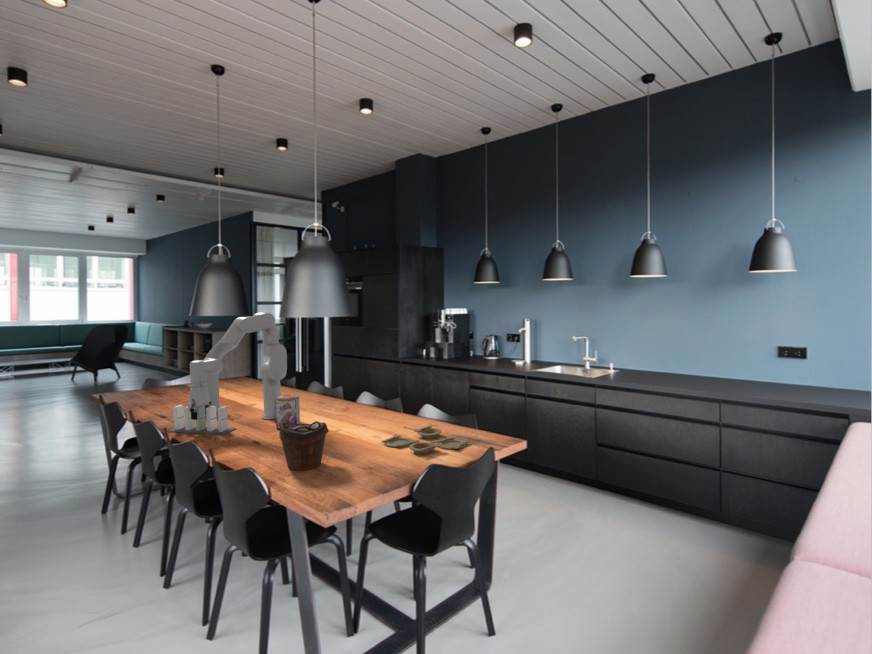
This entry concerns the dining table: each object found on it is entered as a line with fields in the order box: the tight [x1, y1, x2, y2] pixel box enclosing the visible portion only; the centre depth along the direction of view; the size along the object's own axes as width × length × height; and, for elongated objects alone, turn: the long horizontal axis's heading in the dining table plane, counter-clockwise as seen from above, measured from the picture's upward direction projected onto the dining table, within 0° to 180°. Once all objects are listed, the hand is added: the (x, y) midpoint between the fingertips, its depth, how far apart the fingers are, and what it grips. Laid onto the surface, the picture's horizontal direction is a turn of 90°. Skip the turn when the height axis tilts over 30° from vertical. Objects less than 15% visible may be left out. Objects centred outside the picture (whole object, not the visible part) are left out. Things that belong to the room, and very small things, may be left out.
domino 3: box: [195, 406, 207, 431], centre depth 256 cm, size 2×5×12 cm, turn 168°
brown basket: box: [278, 421, 330, 472], centre depth 198 cm, size 18×20×18 cm
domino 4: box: [206, 406, 218, 431], centre depth 254 cm, size 2×5×12 cm, turn 167°
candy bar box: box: [275, 396, 301, 430], centre depth 256 cm, size 11×5×16 cm, turn 84°
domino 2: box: [184, 406, 196, 430], centre depth 257 cm, size 2×5×12 cm, turn 167°
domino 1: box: [172, 404, 185, 430], centre depth 259 cm, size 2×5×12 cm, turn 167°
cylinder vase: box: [207, 373, 221, 413], centre depth 300 cm, size 12×12×25 cm
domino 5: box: [217, 405, 229, 432], centre depth 253 cm, size 2×5×12 cm, turn 167°
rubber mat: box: [167, 426, 237, 435], centre depth 256 cm, size 33×10×1 cm, turn 77°
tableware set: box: [381, 424, 470, 455], centre depth 224 cm, size 35×29×4 cm
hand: (200, 417), depth 256 cm, fingers open, 9 cm apart
